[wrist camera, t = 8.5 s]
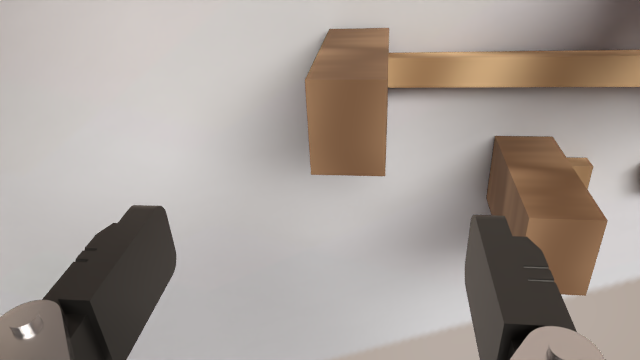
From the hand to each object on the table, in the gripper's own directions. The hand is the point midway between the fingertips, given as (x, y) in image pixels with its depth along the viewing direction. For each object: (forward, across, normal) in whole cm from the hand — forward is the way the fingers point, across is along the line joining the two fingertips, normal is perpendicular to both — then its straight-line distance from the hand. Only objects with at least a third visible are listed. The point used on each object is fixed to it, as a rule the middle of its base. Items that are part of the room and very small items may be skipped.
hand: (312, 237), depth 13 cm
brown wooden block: (+15, -13, +6) cm, 21 cm away
